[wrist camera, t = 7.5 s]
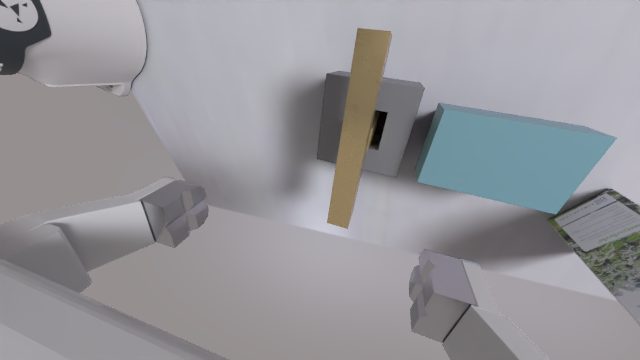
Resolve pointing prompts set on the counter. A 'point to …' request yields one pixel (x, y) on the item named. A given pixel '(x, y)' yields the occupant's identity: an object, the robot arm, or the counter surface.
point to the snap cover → (508, 156)
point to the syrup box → (607, 243)
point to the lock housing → (384, 148)
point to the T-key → (358, 120)
